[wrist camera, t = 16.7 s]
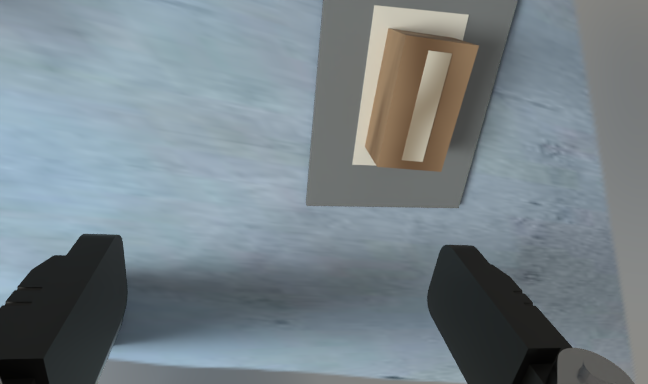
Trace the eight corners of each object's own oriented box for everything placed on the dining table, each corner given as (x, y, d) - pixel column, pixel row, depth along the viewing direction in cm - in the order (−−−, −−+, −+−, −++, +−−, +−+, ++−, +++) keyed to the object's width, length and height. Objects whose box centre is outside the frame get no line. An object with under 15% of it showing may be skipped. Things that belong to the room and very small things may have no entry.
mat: (455, 204, 37) (459, 208, 37) (305, 202, 35) (306, 206, 34) (525, -44, 28) (531, -44, 28) (329, -69, 26) (330, -70, 25)
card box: (453, 37, 29) (479, 45, 26) (422, 151, 33) (441, 172, 30) (388, 28, 29) (406, 35, 25) (364, 146, 33) (377, 167, 29)
